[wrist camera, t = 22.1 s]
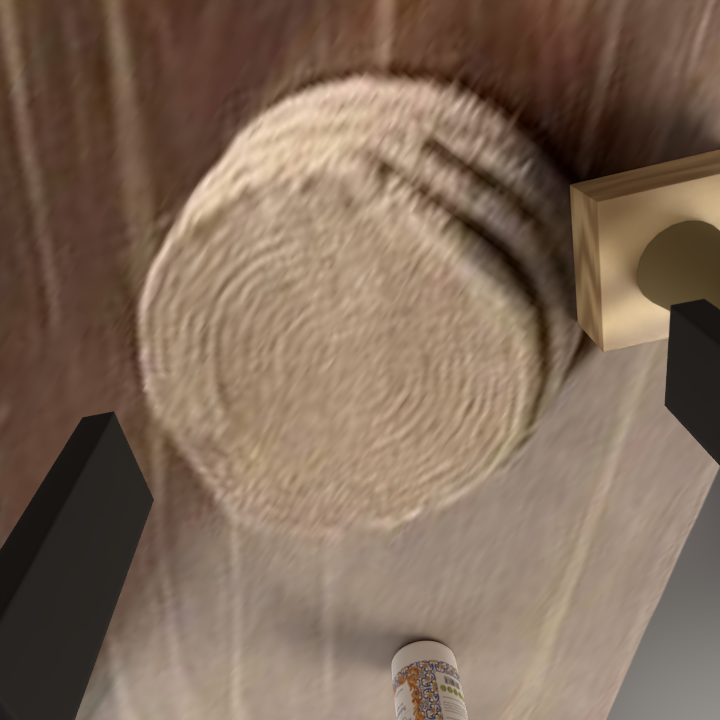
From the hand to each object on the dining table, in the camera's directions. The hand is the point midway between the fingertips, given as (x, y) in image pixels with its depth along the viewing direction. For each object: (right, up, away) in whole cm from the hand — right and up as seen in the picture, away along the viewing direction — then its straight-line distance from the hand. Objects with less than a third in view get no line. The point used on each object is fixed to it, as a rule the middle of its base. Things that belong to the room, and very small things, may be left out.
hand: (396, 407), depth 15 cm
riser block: (+20, +10, +31) cm, 38 cm away
